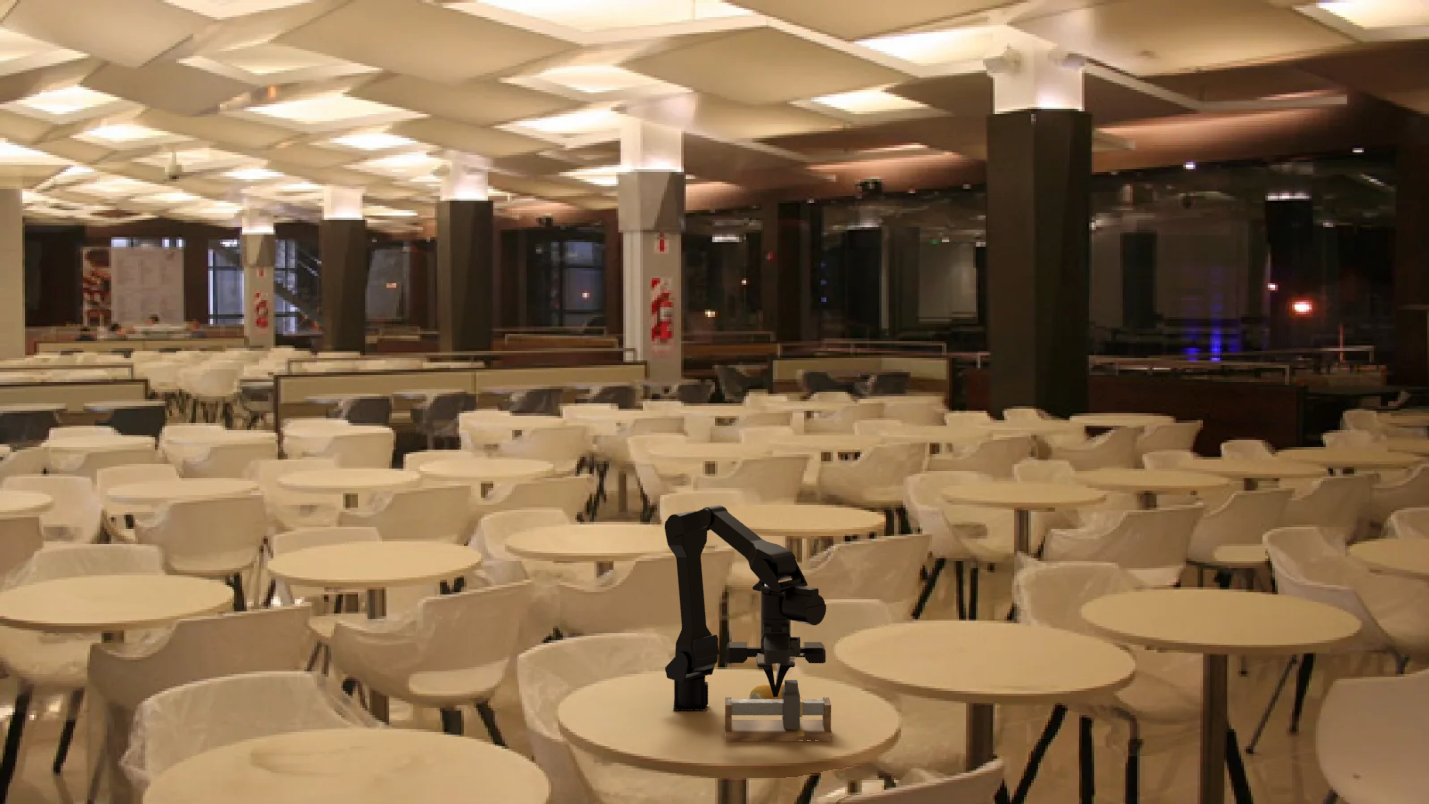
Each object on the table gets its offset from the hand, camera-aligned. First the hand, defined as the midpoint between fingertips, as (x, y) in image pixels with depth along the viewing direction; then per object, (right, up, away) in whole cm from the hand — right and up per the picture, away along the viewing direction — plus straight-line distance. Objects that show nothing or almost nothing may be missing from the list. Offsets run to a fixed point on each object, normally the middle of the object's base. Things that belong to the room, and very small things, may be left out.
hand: (775, 696), depth 277 cm
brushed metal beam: (0, -4, 0) cm, 4 cm away
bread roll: (0, -6, +21) cm, 21 cm away
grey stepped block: (+3, -5, 0) cm, 6 cm away
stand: (0, -7, +1) cm, 7 cm away
